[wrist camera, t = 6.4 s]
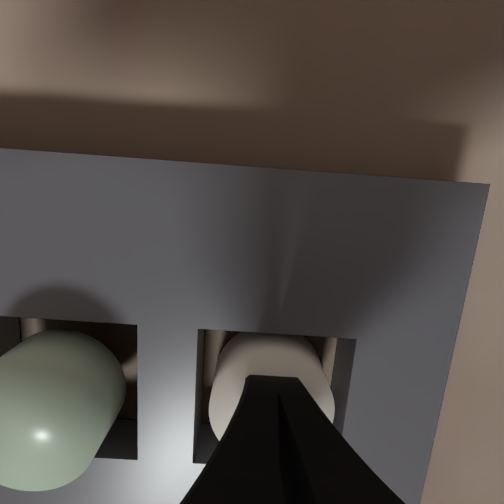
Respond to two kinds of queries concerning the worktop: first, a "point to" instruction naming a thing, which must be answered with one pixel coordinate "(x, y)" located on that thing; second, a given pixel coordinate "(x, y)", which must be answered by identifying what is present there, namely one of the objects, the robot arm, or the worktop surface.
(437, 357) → the button panel
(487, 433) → the worktop surface
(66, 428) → the sage button
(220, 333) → the worktop surface
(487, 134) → the worktop surface
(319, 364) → the cream button
